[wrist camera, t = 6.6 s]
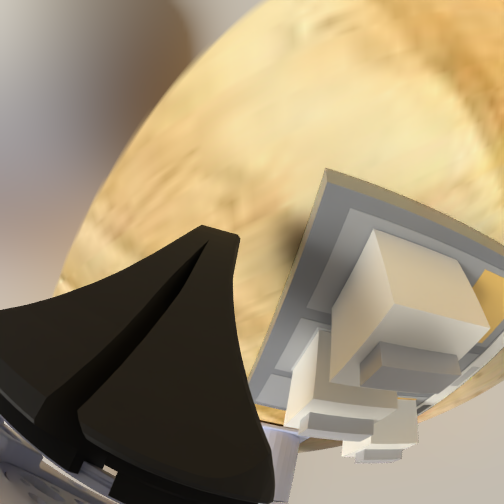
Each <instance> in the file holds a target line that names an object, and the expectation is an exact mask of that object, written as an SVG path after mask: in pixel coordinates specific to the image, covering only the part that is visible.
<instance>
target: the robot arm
mask: <svg viewBox="0 0 504 504" xmlns="http://www.w3.org/2000/svg"><path fill="white" fill-rule="evenodd" d="M239 243H240V238H239V236H238V235H237V234H233V233H229V232H226V231H222V230H219V229H215V228H211V227H208V226H204V225H201V226H199V227H197V228H195V229H194V230H192V231H190V232H189V233H187V234H185V235H184V236H182V237H180V238H179V239H177V240H175V241H174V242H172V243H170V244H169V245H167V246H165V247H164V248H162V249H160V250H159V251H157V252H155V253H154V254H152V255H150V256H148V257H146V258H144V259H142V260H141V261H139V262H137V263H135V264H133V265H131V266H130V267H128V268H126V269H124V270H122V271H119V272H117V273H115V274H113V275H111V276H109V277H106V278H104V279H102V280H100V281H97V282H95V283H92V284H90V285H87V286H84V287H81V288H79V289H76V290H73V291H71V292H68V293H65V294H62V295H59V296H56V297H53V298H50V299H46V300H43V301H39V302H36V303H32V304H28V305H24V306H19V307H14V308H9V309H3V310H0V504H116V503H114V502H112V501H110V500H108V499H106V498H104V497H102V496H100V495H98V494H96V493H94V492H92V491H90V490H89V489H87V488H85V487H83V486H81V485H79V484H78V483H76V482H74V481H73V480H71V479H69V478H68V477H66V476H64V475H63V474H61V473H60V472H58V471H57V470H55V469H53V468H52V467H51V466H49V465H48V464H46V463H45V462H43V461H42V459H43V456H45V457H46V458H47V459H48V460H50V461H51V462H53V463H54V464H55V465H56V466H58V467H59V468H61V469H62V470H63V471H65V472H66V473H68V474H69V475H71V476H72V477H74V478H75V479H77V480H79V481H80V482H82V483H83V484H85V485H87V486H88V487H90V488H92V489H93V490H95V491H97V492H99V493H100V494H102V495H104V496H106V497H108V498H110V499H112V500H114V501H116V502H118V503H120V504H287V503H277V502H288V499H289V495H290V490H291V485H292V481H293V476H294V471H295V465H296V460H297V455H298V449H299V444H300V443H301V442H303V441H305V440H306V439H308V438H310V437H307V436H300V435H298V431H299V429H293V428H287V427H282V426H277V425H272V424H267V423H263V422H260V419H259V416H258V413H257V411H256V407H255V404H254V401H253V398H252V395H251V392H250V388H249V385H248V381H247V377H246V373H245V369H244V365H243V361H242V357H241V352H240V347H239V341H238V336H237V329H236V322H235V314H234V302H233V274H234V269H235V264H236V259H237V253H238V248H239ZM4 421H5V422H6V423H7V424H8V425H9V426H10V427H11V428H12V429H13V430H12V429H11V428H9V427H8V426H7V425H5V424H4ZM42 455H43V456H42ZM104 464H105V465H106V466H108V467H110V468H112V469H114V470H116V471H117V472H118V473H117V475H116V476H114V475H112V474H110V473H108V472H106V471H104V470H103V467H104ZM273 501H274V502H273Z"/></svg>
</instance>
